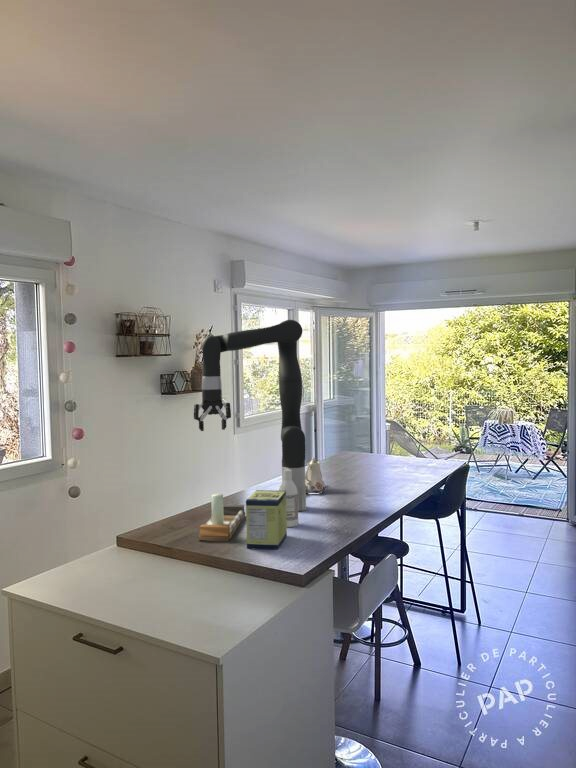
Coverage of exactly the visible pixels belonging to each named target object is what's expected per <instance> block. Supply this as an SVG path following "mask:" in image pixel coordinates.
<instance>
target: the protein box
mask: <svg viewBox="0 0 576 768" xmlns="http://www.w3.org/2000/svg"><path fill="white" fill-rule="evenodd" d="M245 518H246V548H247V549H251V548H255V549H257V548H258V550H279V549H280V547H281V546H282V544H283V543H284V541H285V539H286V538H287V537H288V532H287V531H288V529H287V528H288V527H287V517H286V491H279V490H268V489H267V490H266V489H265V490H263V489H262V490H261V489H256V490H255V491H254V493H252V494H251V495H250V496H249V497H248V498H246V500H245ZM255 549H254V550H255Z"/></svg>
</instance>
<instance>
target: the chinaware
mask: <svg viewBox="0 0 576 768" xmlns="http://www.w3.org/2000/svg"><path fill="white" fill-rule="evenodd" d="M305 465H306V468H305V484H306V493H321V492H323V493H324V491H325V490H326V484H325V482H324V480H323V473H322V470H321V460H317V459H316V458H315V456H313V457H312V458H311V459H310V460H309V461H308V462H305Z"/></svg>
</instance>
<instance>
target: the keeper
mask: <svg viewBox="0 0 576 768" xmlns="http://www.w3.org/2000/svg"><path fill="white" fill-rule="evenodd" d="M210 501H211V517H212V522H209V523H208V524H207V525H230V522H224V512H223V505H224V494H223V493H212V494H211V500H210Z"/></svg>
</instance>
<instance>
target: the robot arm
mask: <svg viewBox="0 0 576 768" xmlns="http://www.w3.org/2000/svg"><path fill="white" fill-rule="evenodd" d="M302 336H303V327H302V325H301V324H300V323H299V322H298V321H297V320H294V319H286V320H283V321H281V322H280V323H277V324H275V325H271V326H265V327H260V328H254V329H245V330H239V331H233V332H228V333H226V334H221V335H209V336H206V337H205V338H204V339H202V341H201V344H200V348H201V350H202V366H201V372H202V373H201V374H202V375H201V376H202V378H201V400H202V401H201V404H198V403H194V405H193V419H194V420H196V421H197V422H198V429H199V430H200V432H204V431H205V430H204V429H205V428H204V427H205V426H204V424H205V423H204V420H205V418H206V417H207V416H208V415H209V416H211V415H218V416H219V417H220V418H221V430H222V431H225V430H226V429H227V420H228V419H231V418H232V410H231V403H230V402H223V394H222V393H223V392H222V391H223V389H222V387H223V386H222V378H221V376H222V375H221V373H222V372H221V353H224V352H225V353H226V352H233V351H234V352H235V351H240V350H246V349H250V348H254V347H257V346H262V345H266V344H267V345H268V344H275V343H277V348H278V350H277V351H278V391H279V400H280V401H279V402H280V408H281V430H280V440H281V483H282V482H283V480H284V470H285V469H290V470H292V481H293V482H294V484H295V485H296V488H297V491H298V512H302V511H306V509H307V494H306V484H305V473H306V436H305V435H306V434H305V433H304V431H303V427H302V422H301V406H302V399H303V377H302V371H301V366H300V364H299V360H298V359H299V358H298V349H297V348H298V347H297V346H298V341H299V340H300V339H301V337H302ZM223 408H225V413H224V412H223V411H222V409H223ZM201 409H202V411H201V414H200V413H199V412H200V411H199V410H201ZM199 414H200V415H199Z"/></svg>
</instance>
